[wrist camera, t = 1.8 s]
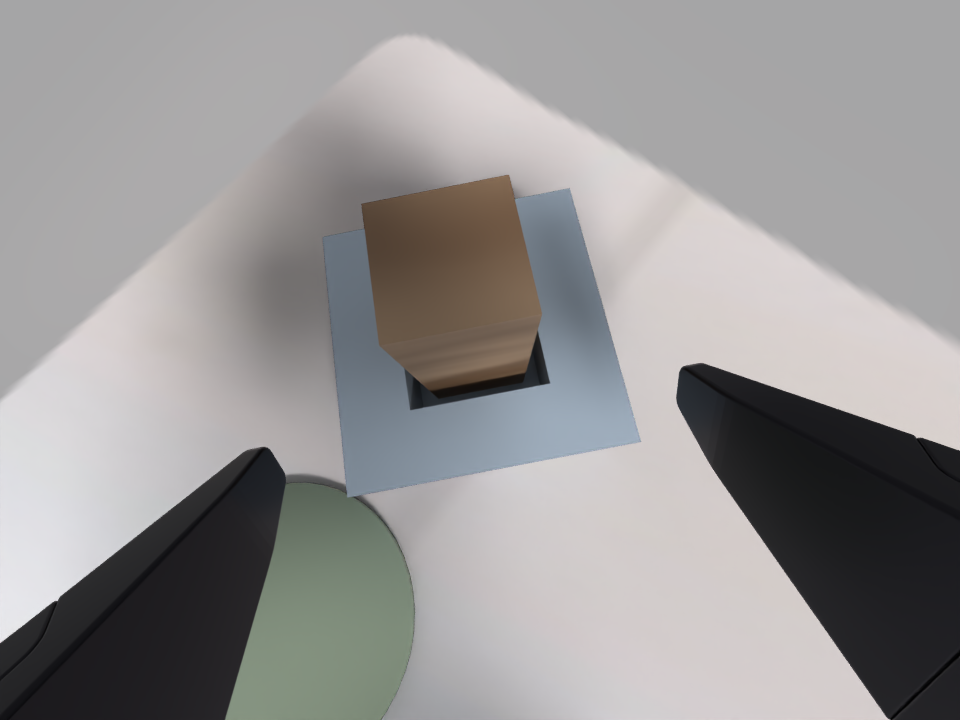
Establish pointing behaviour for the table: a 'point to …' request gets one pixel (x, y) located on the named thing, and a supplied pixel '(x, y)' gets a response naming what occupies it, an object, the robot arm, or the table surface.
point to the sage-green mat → (327, 615)
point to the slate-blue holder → (488, 413)
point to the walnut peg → (453, 285)
